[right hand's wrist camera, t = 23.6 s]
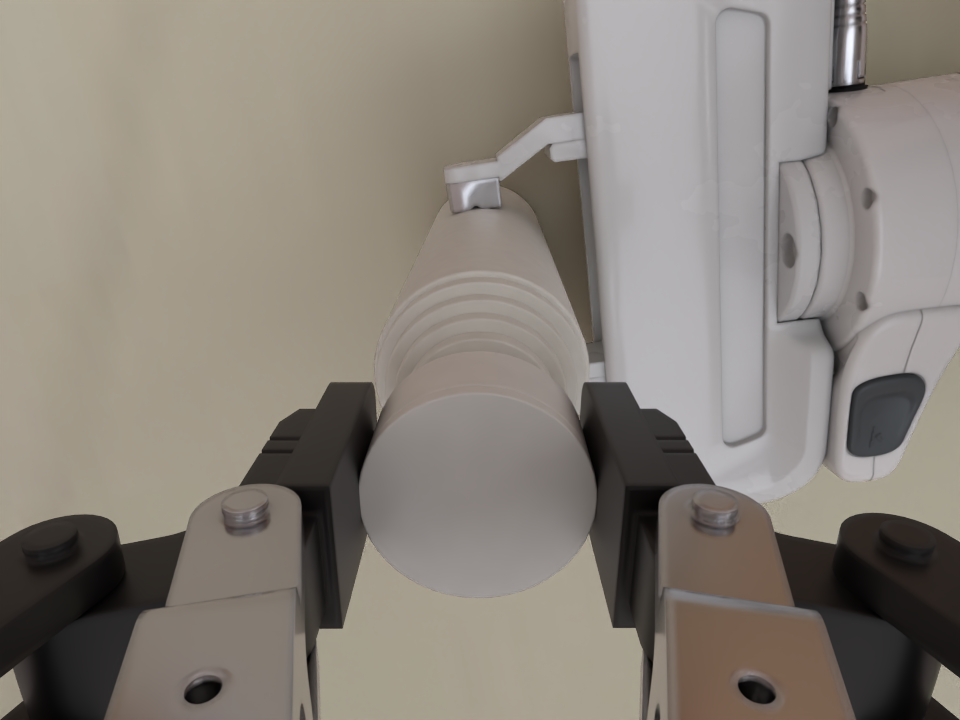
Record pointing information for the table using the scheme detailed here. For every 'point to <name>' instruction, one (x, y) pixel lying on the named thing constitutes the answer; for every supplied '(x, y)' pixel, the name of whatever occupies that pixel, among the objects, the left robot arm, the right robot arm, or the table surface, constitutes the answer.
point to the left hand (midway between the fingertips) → (460, 278)
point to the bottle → (484, 299)
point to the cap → (478, 477)
